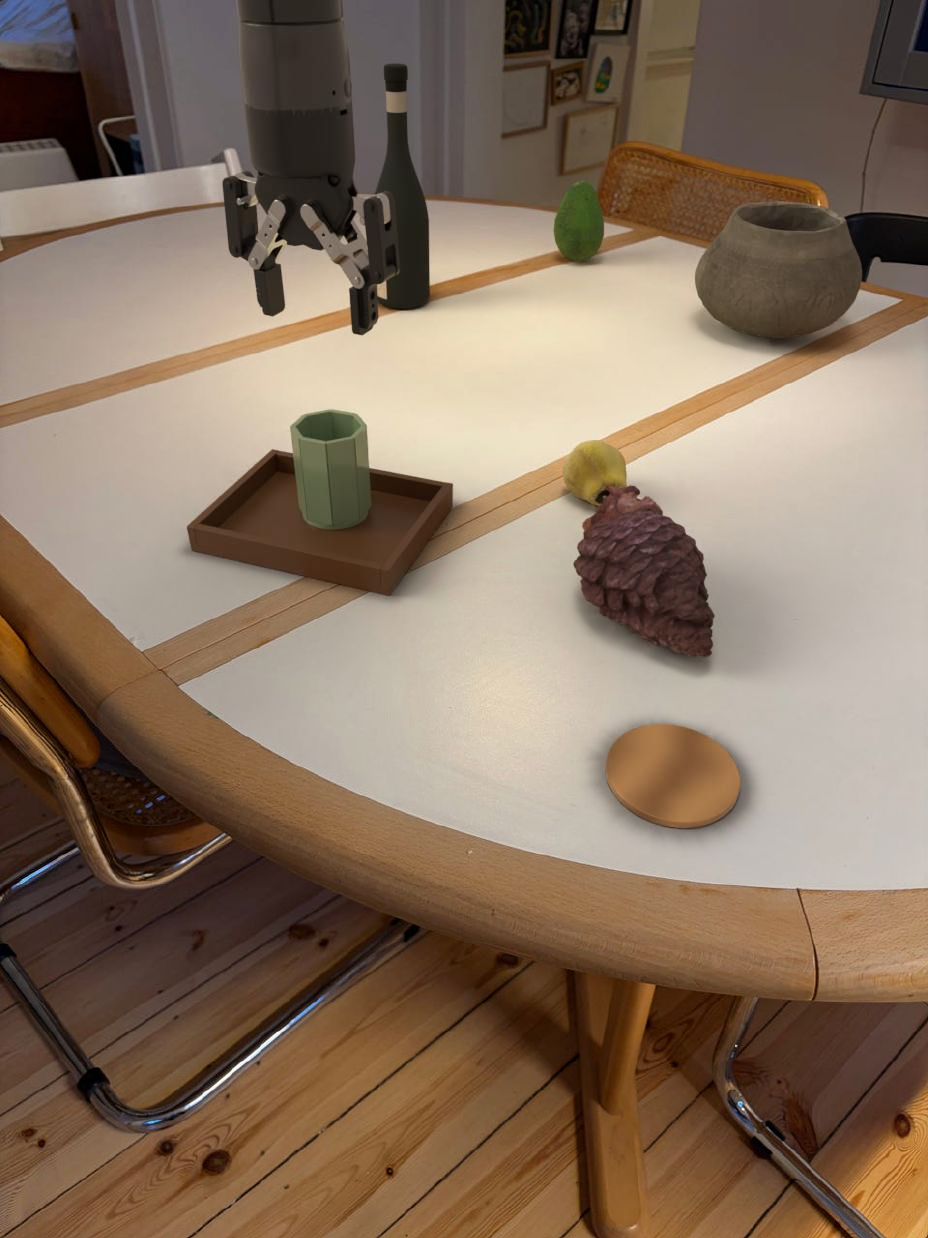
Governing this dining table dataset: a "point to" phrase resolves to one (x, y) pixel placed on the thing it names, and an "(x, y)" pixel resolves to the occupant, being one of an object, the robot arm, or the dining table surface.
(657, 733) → the coaster
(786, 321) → the clay pot
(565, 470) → the fruit
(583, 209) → the fruit
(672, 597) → the pine cone
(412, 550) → the tray
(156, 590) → the dining table surface
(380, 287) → the wine bottle
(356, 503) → the cup
